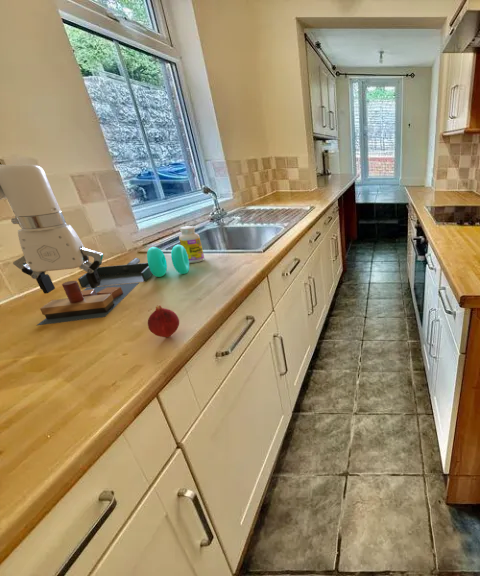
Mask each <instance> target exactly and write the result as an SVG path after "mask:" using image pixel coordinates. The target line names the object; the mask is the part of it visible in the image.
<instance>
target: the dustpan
mask: <svg viewBox="0 0 480 576" xmlns="http://www.w3.org/2000/svg"><path fill="white" fill-rule="evenodd" d="M97 273H98V275H99V277H100V280H101V282H100V285H98V286H97V287H100V286H109V285H119V284H129V283H139V282H140V283H146V282H147V281H148V280H149V279H150V278H151V277H152V276H153V274H152V272H151V271H150V268H149V265H148V262H142V263H141V259H140V258H138V257H134V258H133V259H131V260H130V261H129V262H128V263H126V264H118V265H117V264H116V265H107V266H106V265H105V266H99V267H98V269H97ZM86 274H87V272H86V273H84V274H83V275H81V276H80V277H78V278H77V280H78V284H79V285H80V287H81V288H82V289H86V288H90V287H91V286H90V284H89V281H88V279H87V277H86Z"/></svg>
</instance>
